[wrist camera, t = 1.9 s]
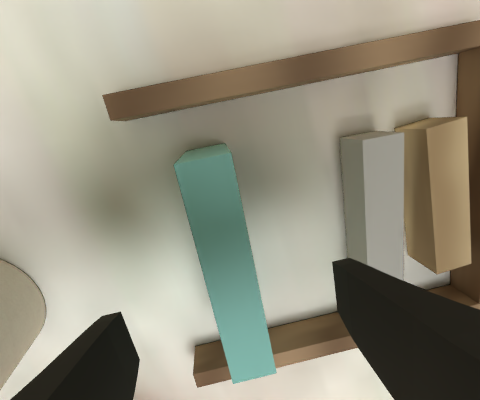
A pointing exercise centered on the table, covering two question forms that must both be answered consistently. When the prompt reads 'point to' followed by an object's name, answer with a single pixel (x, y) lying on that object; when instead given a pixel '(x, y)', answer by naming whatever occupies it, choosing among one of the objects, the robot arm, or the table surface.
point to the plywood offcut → (437, 192)
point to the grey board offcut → (374, 199)
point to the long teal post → (226, 258)
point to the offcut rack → (310, 71)
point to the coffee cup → (17, 317)
